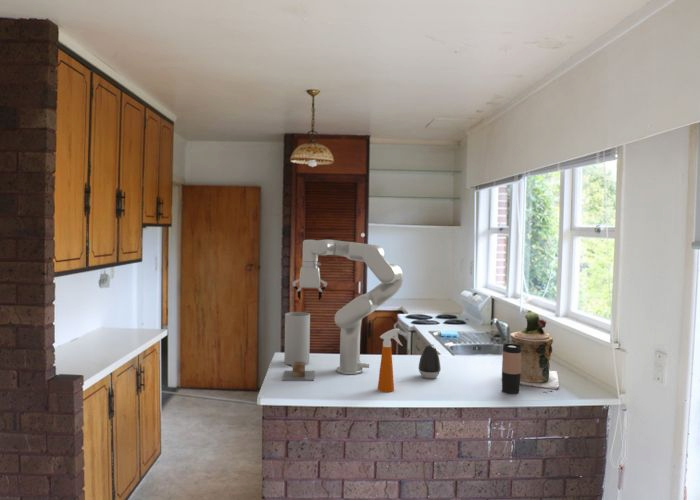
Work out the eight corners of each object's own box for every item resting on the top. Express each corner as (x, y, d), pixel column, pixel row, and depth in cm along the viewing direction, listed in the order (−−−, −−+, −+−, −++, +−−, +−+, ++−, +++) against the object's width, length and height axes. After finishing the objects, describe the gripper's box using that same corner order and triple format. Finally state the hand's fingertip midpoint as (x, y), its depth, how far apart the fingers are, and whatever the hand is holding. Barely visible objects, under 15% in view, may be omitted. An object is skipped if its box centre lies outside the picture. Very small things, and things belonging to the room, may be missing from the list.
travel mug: (498, 388, 226) (500, 343, 225) (515, 388, 226) (517, 343, 225) (505, 394, 218) (506, 347, 217) (522, 394, 219) (524, 347, 218)
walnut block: (304, 373, 241) (305, 361, 241) (304, 376, 236) (304, 364, 236) (293, 373, 241) (293, 361, 241) (292, 376, 235) (292, 364, 235)
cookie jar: (501, 383, 234) (503, 313, 233) (504, 369, 257) (506, 305, 256) (559, 390, 226) (562, 317, 224) (557, 375, 249) (560, 309, 247)
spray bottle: (404, 391, 220) (406, 329, 218) (380, 393, 217) (382, 330, 215) (398, 386, 226) (400, 326, 225) (375, 387, 223) (376, 327, 222)
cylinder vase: (302, 367, 253) (303, 316, 252) (280, 364, 258) (280, 314, 256) (313, 361, 265) (314, 313, 264) (291, 358, 269) (292, 311, 268)
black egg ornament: (442, 375, 244) (443, 343, 243) (437, 381, 235) (437, 348, 234) (422, 372, 248) (422, 341, 248) (415, 378, 239) (416, 345, 238)
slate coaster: (314, 372, 246) (314, 370, 246) (313, 380, 232) (313, 379, 232) (284, 371, 245) (284, 370, 245) (282, 380, 231) (282, 379, 231)
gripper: (327, 264, 257) (327, 298, 258) (292, 264, 257) (292, 298, 257) (327, 265, 250) (327, 300, 251) (291, 265, 249) (291, 300, 250)
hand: (309, 299), depth 254 cm, fingers open, 9 cm apart
